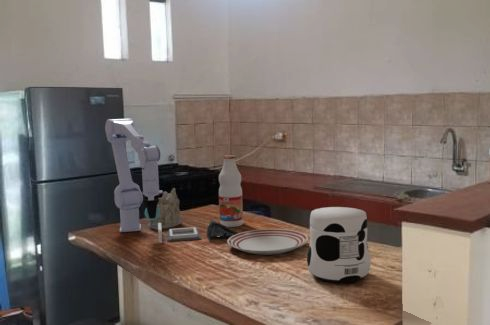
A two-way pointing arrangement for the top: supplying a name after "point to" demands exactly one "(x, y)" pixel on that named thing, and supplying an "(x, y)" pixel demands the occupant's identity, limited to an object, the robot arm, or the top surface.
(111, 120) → the robot arm
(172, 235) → the mat
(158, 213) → the ball
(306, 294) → the top surface
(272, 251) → the dinner plate
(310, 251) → the milk container
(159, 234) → the wall
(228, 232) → the chocolate cake
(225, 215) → the fruit juice
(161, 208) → the jagged rock
